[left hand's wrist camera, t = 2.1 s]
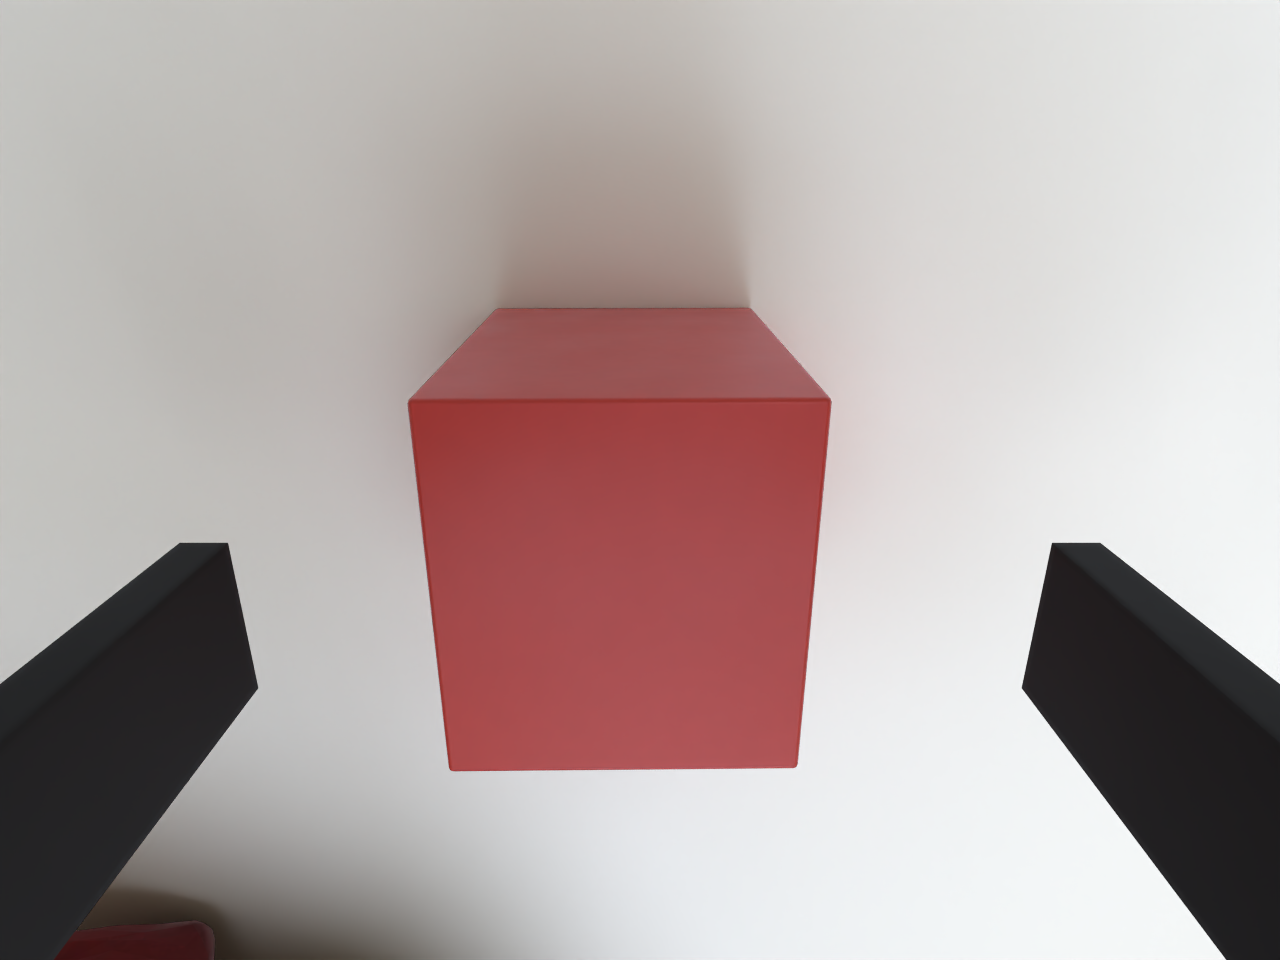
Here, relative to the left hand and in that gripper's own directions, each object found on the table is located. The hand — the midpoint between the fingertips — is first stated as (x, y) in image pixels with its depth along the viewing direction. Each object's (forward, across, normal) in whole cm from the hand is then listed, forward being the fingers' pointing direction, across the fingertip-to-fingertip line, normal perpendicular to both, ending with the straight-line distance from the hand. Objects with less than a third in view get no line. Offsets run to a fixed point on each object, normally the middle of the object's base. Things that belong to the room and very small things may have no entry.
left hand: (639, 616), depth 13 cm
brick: (+8, 0, 0) cm, 8 cm away
